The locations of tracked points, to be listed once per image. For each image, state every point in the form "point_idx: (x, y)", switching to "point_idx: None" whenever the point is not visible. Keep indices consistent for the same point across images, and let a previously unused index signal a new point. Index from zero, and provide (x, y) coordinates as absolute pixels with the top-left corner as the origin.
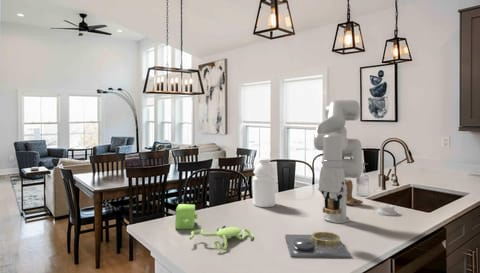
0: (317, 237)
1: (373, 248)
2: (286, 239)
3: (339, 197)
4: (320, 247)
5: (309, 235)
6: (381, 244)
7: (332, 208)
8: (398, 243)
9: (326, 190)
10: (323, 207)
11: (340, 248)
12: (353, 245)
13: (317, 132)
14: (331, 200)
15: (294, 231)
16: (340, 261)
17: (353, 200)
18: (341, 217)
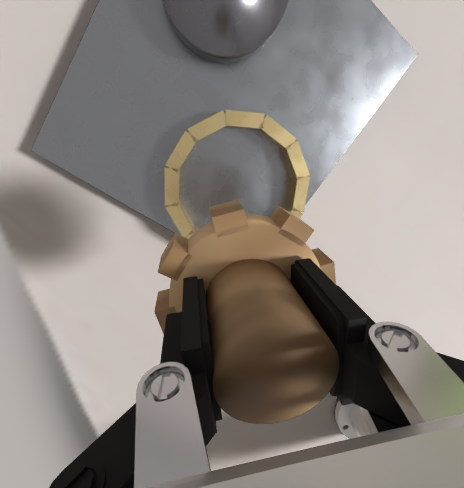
0: (280, 178)
1: (88, 313)
2: (369, 3)
3: (105, 447)
4: (168, 77)
5: (322, 163)
6: (108, 364)
7: (217, 280)
8: (89, 414)
9: (433, 455)
10: (330, 261)
11: (108, 162)
12: (151, 271)
13: None
14: (243, 332)
15: (422, 173)
16: (15, 65)
17: None
18: (359, 415)
